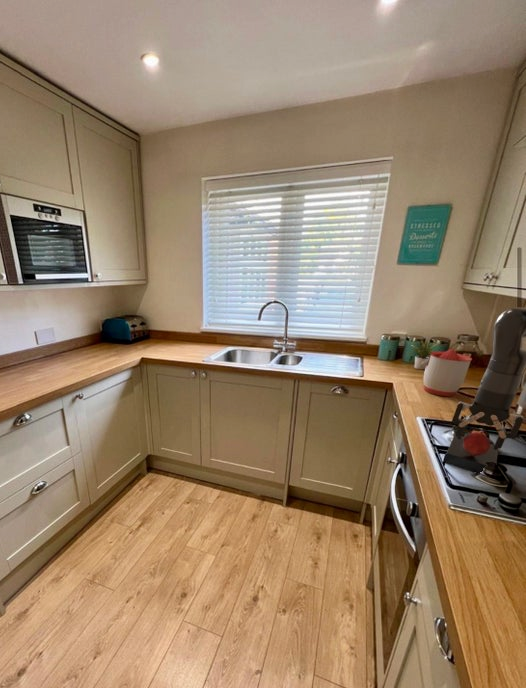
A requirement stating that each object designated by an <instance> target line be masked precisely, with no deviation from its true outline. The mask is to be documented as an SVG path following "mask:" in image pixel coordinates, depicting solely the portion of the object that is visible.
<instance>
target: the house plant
mask: <svg viewBox="0 0 526 688" xmlns="http://www.w3.org/2000/svg"><path fill="white" fill-rule="evenodd" d="M417 343H418V344H419V345H418V346H419V347H417V346H415V345H413V344H410V346H411V347H412V348H414V350H415V351H416V353H418V355H415V357H414V369H417V370H425V369H426V364H422V362H423V361H424V360H426V359H429V357H430V354H431V352H434V351H433V349H435V348H436V346H438V345H439V344H440V342H436V341H434V342H433V344H432V343H431V342H429V340H428V339H426V340H425V343H424V342H423V341H419V340H417ZM431 345H432V346H431Z"/></svg>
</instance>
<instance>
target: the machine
mask: <svg viewBox="0 0 526 688" xmlns="http://www.w3.org/2000/svg"><path fill="white" fill-rule="evenodd" d="M471 433H472V432H465V433H464V435H462V436H461V439H457V438H458V437H456V433H454V435H453V437H452V439H451V442H450V445H449V446H448V449H447V451H446V454H445V456H444V459H443V463H444V462H445V463H444V464H447V465H450V466H453V467H455V468H459V469H462V470H464V471H468V472H472V473H474V472H476V473H475V474H477V473H480V472H482V471H483V468H484V467H485V466H488V465H487V464H486V462H494V463H496V464H498V463H497V462H498V454H499V448H497V450H495V449H494V445H495V444H492V443H491V439H490V438H488V439H489V442H490V447H489V450H488V451H487V452H486V453H484V454H481V455H477V456H471V455H470V454H469V453H468V452H467V451H466V450H465V449H464V446H463V440H464V438H465V437H466V436H468V435H469V434H471Z"/></svg>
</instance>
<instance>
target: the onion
mask: <svg viewBox="0 0 526 688" xmlns="http://www.w3.org/2000/svg"><path fill="white" fill-rule="evenodd" d="M470 433H471V434H469V435H468V436H466V437H465V438H464V440H463V446H464V449H465V450H466V451H467V452H468V453H469V454H470V455H471V456H477V455H481V454H484V453H486V452H487V451H488V450H489V447H490V444H491V441H490V442H489V439H490V438H488V437H487V436H486V434H485V433H484V430H479V432H475V433H472V432H470ZM484 434H485V435H484Z"/></svg>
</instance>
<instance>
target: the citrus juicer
mask: <svg viewBox="0 0 526 688" xmlns="http://www.w3.org/2000/svg"><path fill="white" fill-rule="evenodd" d="M428 357H429V359H426V360H424V361H423V362H422V364H426V368H425V369H424V372H423V389H424V391H425V392H427V393H429V394H433V395H437V396H443V397H447V398H448V397H452V396H455V395H456V394H457V392H458V391H459V389H460V388H461V387H462V385H463V384H464V381H465V379H466V376H467V373H468V370H469V367H470V364H471V361H473V358H472V357H470V356H468V355H465V354H461V353H457V352H456V350H454V348H450V349H447V350H446V351H439V350H438V351H437V350H436V351H434V352H431V354H430V355H429V356H428Z"/></svg>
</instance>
